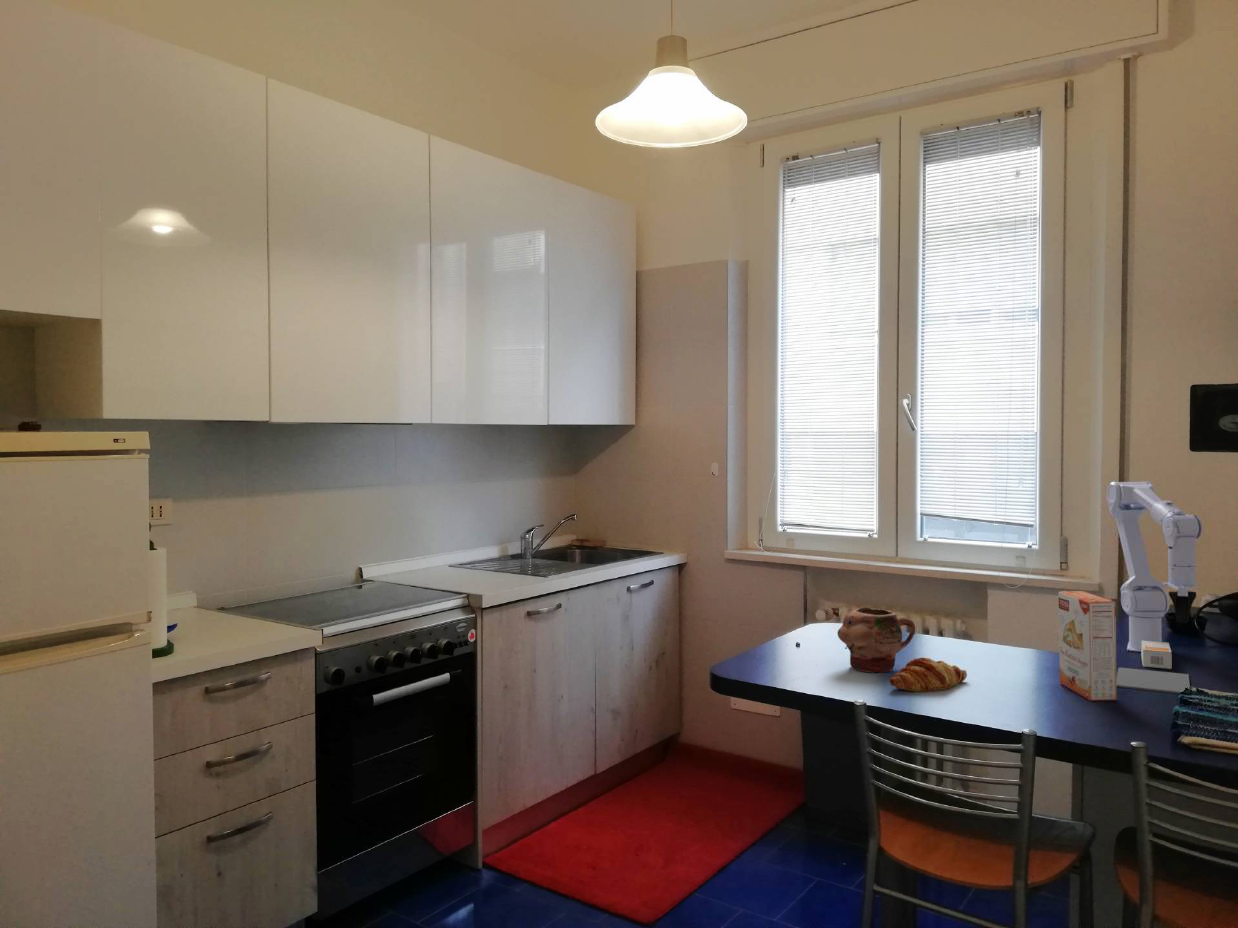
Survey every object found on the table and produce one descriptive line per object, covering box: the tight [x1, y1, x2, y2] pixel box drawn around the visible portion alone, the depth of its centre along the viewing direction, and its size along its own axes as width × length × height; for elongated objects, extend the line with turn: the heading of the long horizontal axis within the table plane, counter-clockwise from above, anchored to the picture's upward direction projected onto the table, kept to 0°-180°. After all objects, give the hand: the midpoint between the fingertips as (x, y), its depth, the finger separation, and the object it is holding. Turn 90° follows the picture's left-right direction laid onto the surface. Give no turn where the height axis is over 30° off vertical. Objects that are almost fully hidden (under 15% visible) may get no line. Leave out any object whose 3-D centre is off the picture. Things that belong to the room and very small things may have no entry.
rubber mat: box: [1116, 667, 1191, 695], centre depth 203 cm, size 18×14×1 cm
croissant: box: [889, 657, 968, 693], centre depth 201 cm, size 21×10×8 cm, turn 115°
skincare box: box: [1140, 640, 1173, 670], centre depth 220 cm, size 6×4×12 cm
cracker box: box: [1058, 590, 1118, 702], centre depth 194 cm, size 14×6×21 cm, turn 178°
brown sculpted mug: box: [837, 607, 916, 673], centre depth 218 cm, size 20×12×14 cm, turn 108°
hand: (1182, 622), depth 217 cm, fingers closed
